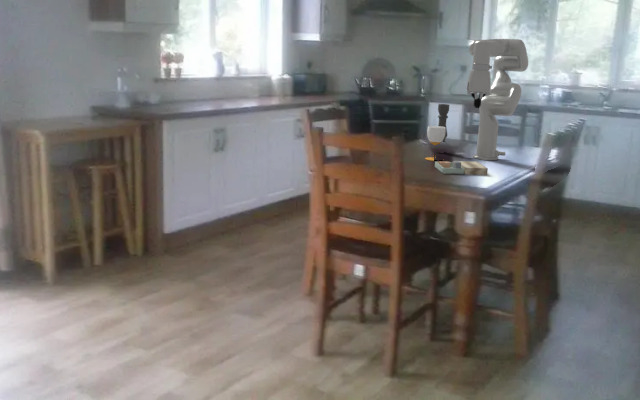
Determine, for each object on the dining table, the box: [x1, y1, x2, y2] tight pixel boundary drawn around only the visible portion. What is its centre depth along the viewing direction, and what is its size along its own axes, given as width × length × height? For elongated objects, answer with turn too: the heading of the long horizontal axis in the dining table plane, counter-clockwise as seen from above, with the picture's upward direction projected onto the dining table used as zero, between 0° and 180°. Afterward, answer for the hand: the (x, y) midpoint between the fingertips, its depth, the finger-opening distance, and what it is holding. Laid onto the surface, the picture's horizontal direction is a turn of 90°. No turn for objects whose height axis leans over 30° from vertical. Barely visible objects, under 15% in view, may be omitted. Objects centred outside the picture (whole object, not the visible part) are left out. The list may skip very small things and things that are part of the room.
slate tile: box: [452, 160, 461, 168], centre depth 300 cm, size 4×4×2 cm
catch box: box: [434, 161, 465, 175], centre depth 305 cm, size 10×16×2 cm, turn 3°
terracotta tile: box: [437, 160, 451, 168], centre depth 309 cm, size 4×4×2 cm
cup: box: [424, 125, 447, 162], centre depth 330 cm, size 9×9×16 cm
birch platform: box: [459, 160, 488, 176], centre depth 305 cm, size 10×16×3 cm, turn 3°
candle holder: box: [437, 103, 450, 143], centre depth 352 cm, size 6×6×25 cm
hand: (476, 107), depth 317 cm, fingers closed
